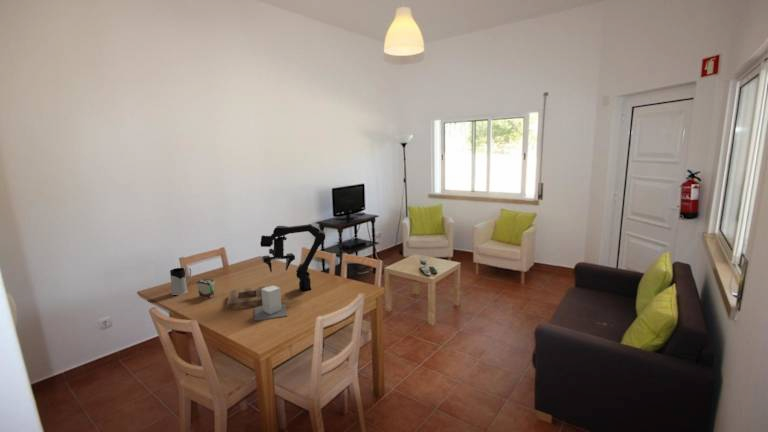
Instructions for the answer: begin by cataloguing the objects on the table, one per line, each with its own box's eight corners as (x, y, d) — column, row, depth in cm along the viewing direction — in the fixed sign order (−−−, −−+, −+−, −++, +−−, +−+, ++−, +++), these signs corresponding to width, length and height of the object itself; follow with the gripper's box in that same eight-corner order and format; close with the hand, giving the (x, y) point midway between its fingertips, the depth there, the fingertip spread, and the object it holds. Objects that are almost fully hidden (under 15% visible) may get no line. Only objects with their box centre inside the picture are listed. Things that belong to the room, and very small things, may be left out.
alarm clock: (220, 295, 215) (219, 279, 213) (212, 299, 210) (210, 283, 208) (206, 292, 220) (204, 276, 219) (197, 296, 215) (195, 280, 213)
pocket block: (265, 291, 221) (264, 286, 220) (266, 304, 202) (265, 298, 202) (230, 296, 214) (229, 290, 214) (227, 310, 196) (227, 304, 195)
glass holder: (168, 295, 217) (165, 271, 214) (186, 286, 230) (184, 264, 227) (180, 296, 214) (177, 272, 211) (198, 287, 228) (195, 265, 225)
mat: (284, 304, 203) (284, 303, 203) (286, 316, 188) (286, 315, 188) (254, 308, 198) (254, 307, 197) (254, 321, 183) (254, 320, 183)
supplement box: (282, 309, 194) (280, 287, 192) (270, 314, 189) (268, 292, 186) (274, 306, 199) (273, 284, 196) (262, 310, 193) (260, 288, 191)
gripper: (290, 242, 229) (290, 265, 232) (260, 244, 220) (260, 269, 223) (295, 246, 219) (295, 271, 222) (263, 249, 210) (264, 274, 213)
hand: (278, 271), depth 220 cm, fingers open, 9 cm apart
